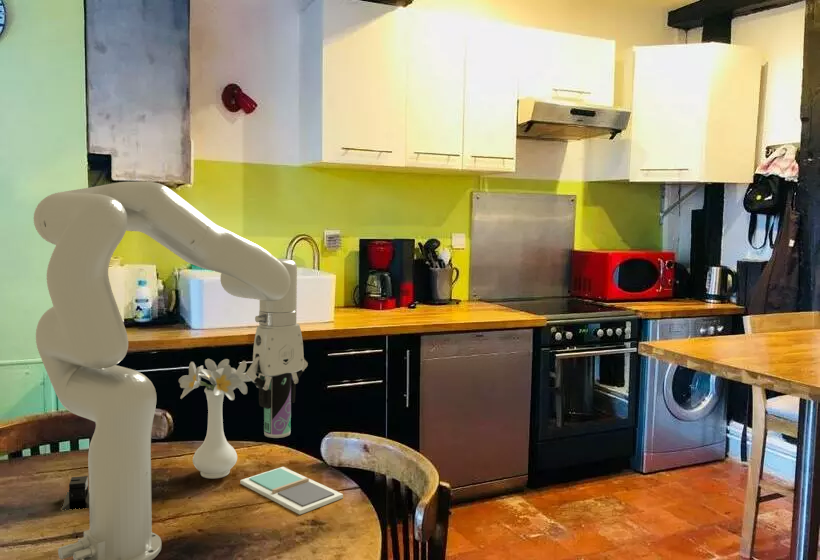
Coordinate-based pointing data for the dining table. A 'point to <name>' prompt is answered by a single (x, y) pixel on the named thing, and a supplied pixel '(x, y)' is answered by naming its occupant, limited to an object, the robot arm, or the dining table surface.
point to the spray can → (279, 407)
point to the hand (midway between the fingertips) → (277, 403)
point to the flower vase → (215, 414)
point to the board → (291, 490)
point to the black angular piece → (77, 494)
